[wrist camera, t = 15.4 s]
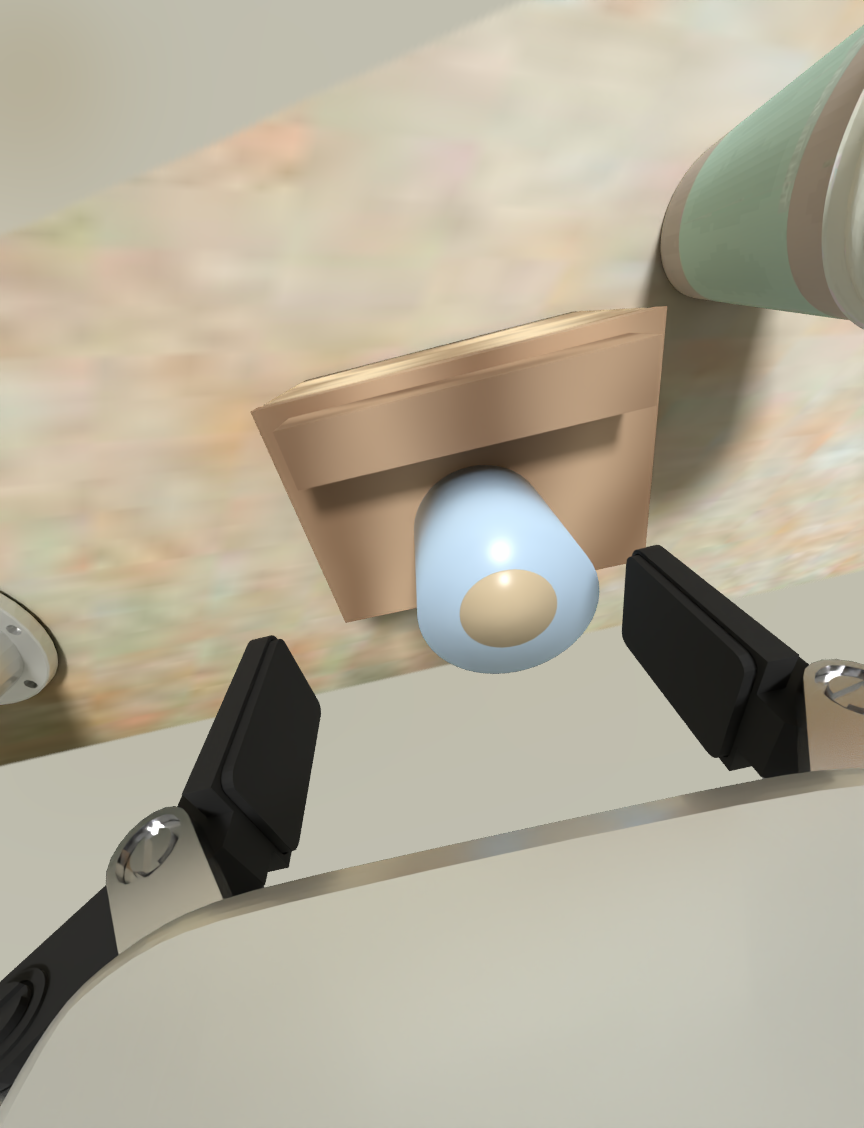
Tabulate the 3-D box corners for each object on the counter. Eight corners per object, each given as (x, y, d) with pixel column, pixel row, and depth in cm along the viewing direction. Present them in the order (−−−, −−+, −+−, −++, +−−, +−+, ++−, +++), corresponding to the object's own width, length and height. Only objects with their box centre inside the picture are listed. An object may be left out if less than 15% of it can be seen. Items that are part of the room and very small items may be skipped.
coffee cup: (850, 216, 18) (1428, 80, 8) (683, 368, 21) (942, 412, 11) (781, 10, 15) (1644, -703, 4) (593, 227, 18) (849, 99, 7)
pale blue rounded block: (399, 482, 15) (396, 554, 11) (539, 450, 15) (601, 509, 10) (429, 593, 18) (438, 688, 14) (547, 568, 18) (598, 657, 13)
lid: (347, 612, 20) (339, 652, 17) (258, 407, 14) (228, 424, 12) (635, 550, 19) (669, 584, 16) (653, 306, 13) (707, 303, 11)
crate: (364, 543, 26) (351, 609, 20) (305, 380, 20) (263, 405, 14) (576, 495, 25) (630, 550, 19) (572, 311, 19) (646, 307, 13)
